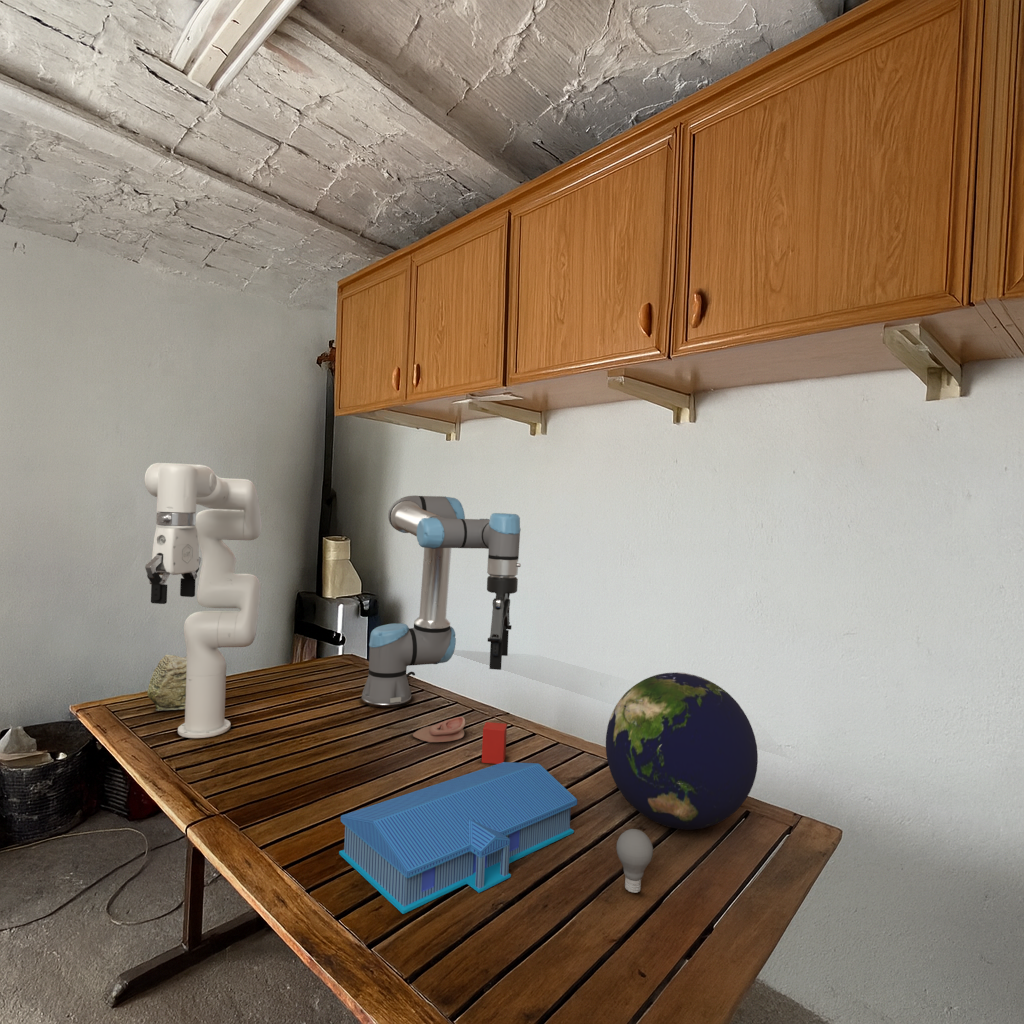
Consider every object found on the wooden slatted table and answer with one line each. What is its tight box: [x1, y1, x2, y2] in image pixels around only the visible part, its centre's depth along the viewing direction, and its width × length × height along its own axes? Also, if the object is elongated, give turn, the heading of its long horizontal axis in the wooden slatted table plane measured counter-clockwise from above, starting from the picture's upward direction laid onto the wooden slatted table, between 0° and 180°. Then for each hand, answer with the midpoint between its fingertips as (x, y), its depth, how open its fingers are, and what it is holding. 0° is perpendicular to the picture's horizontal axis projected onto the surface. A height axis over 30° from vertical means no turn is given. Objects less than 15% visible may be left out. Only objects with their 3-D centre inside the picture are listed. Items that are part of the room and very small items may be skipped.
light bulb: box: [615, 828, 654, 894], centre depth 106 cm, size 6×6×10 cm
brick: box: [481, 721, 508, 765], centre depth 157 cm, size 5×5×8 cm
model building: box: [338, 761, 578, 915], centre depth 117 cm, size 39×24×10 cm, turn 132°
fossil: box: [147, 654, 187, 712], centre depth 185 cm, size 9×18×15 cm, turn 132°
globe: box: [605, 671, 759, 831], centre depth 130 cm, size 30×30×30 cm
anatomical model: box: [412, 716, 466, 743], centre depth 171 cm, size 13×4×12 cm
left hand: (173, 599), depth 137 cm, fingers open, 9 cm apart
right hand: (498, 662), depth 156 cm, fingers open, 13 cm apart
